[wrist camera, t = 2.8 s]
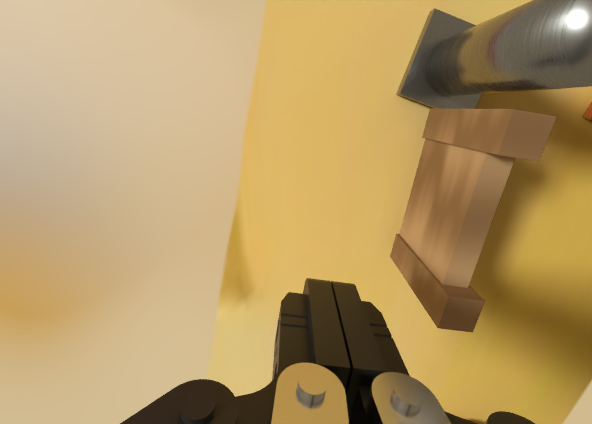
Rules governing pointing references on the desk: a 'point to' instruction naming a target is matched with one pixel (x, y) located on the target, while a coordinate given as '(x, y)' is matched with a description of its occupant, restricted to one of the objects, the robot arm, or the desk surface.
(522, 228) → the desk surface
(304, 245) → the desk surface
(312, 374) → the robot arm
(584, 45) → the gate posts
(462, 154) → the gate
